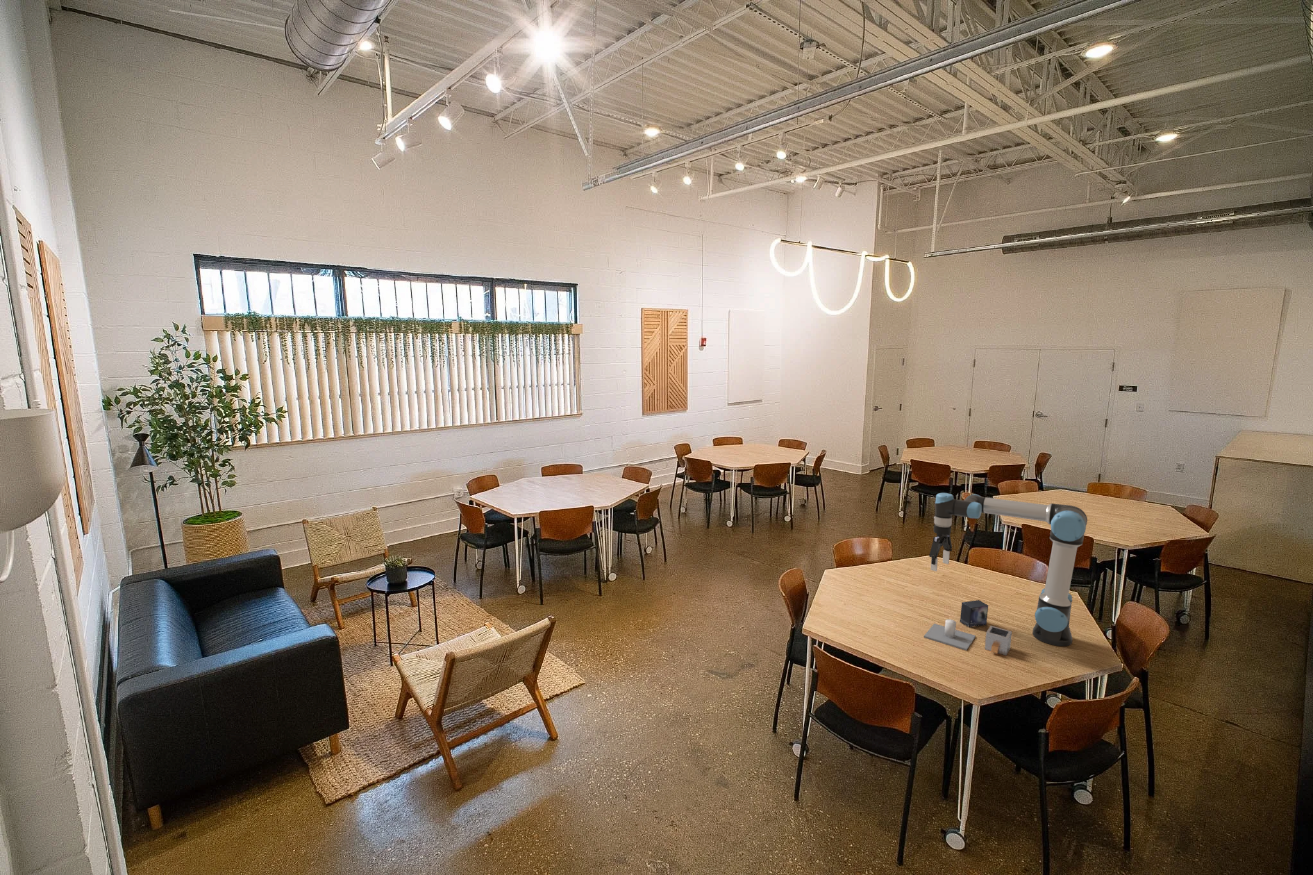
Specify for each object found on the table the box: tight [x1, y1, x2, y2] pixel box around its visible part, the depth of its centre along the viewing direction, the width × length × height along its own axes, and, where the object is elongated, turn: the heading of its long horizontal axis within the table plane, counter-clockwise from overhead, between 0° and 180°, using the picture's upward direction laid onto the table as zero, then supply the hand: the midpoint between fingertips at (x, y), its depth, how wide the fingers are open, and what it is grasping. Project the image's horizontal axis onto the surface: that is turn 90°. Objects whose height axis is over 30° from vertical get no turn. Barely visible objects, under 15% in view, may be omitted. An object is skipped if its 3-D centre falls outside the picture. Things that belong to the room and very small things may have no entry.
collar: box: [984, 625, 1013, 656], centre depth 254 cm, size 8×11×8 cm
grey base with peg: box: [923, 618, 976, 651], centre depth 266 cm, size 18×16×8 cm
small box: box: [959, 599, 989, 628], centre depth 278 cm, size 11×6×10 cm, turn 105°
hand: (939, 566), depth 280 cm, fingers open, 13 cm apart
